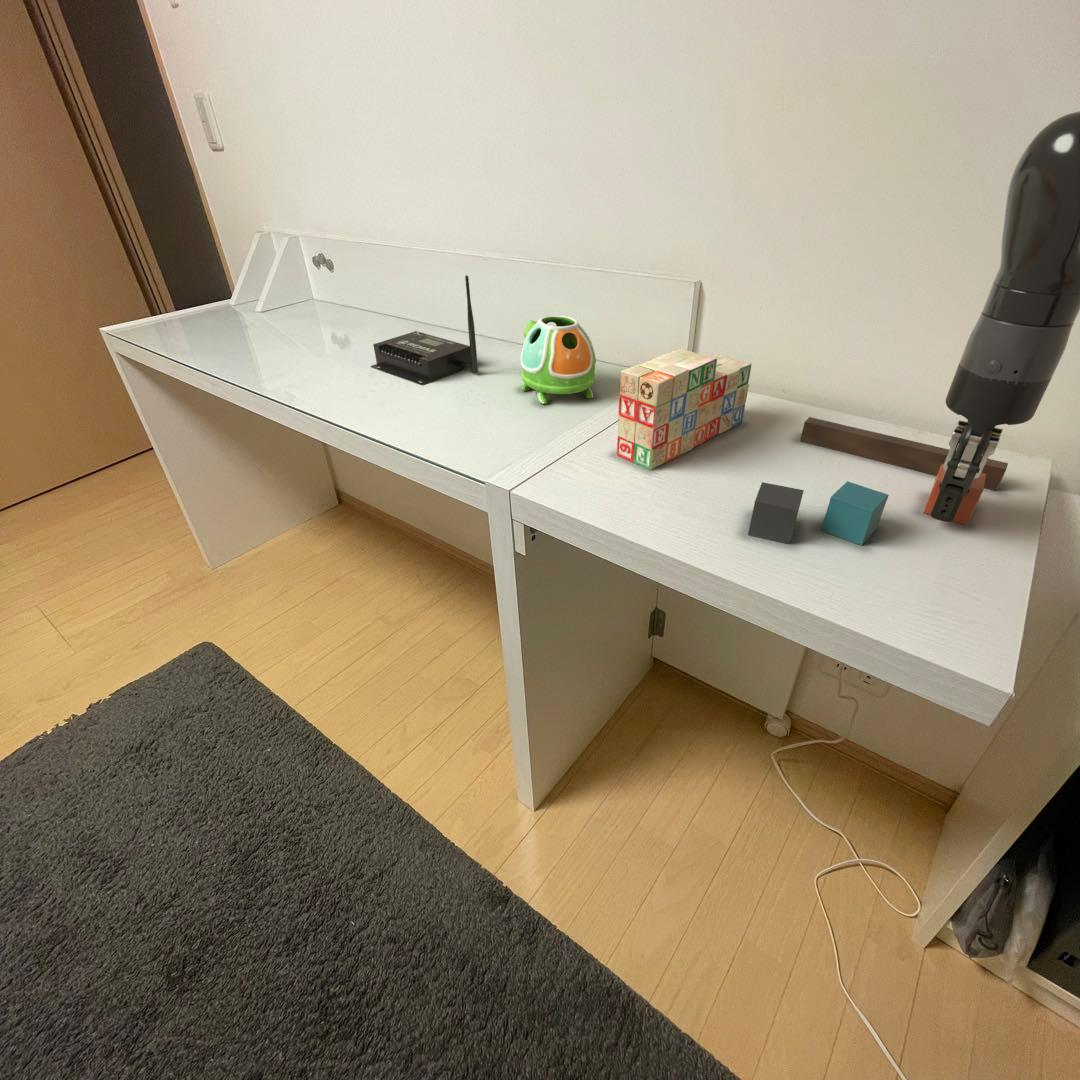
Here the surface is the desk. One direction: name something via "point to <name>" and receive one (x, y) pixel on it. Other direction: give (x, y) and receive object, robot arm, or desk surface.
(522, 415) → the desk surface
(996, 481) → the rail
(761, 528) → the block charcoal
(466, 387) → the desk surface
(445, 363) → the wireless controller
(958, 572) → the desk surface
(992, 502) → the desk surface
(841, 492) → the block teal
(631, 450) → the stack of blocks
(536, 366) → the turtle holder
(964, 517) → the block terracotta
